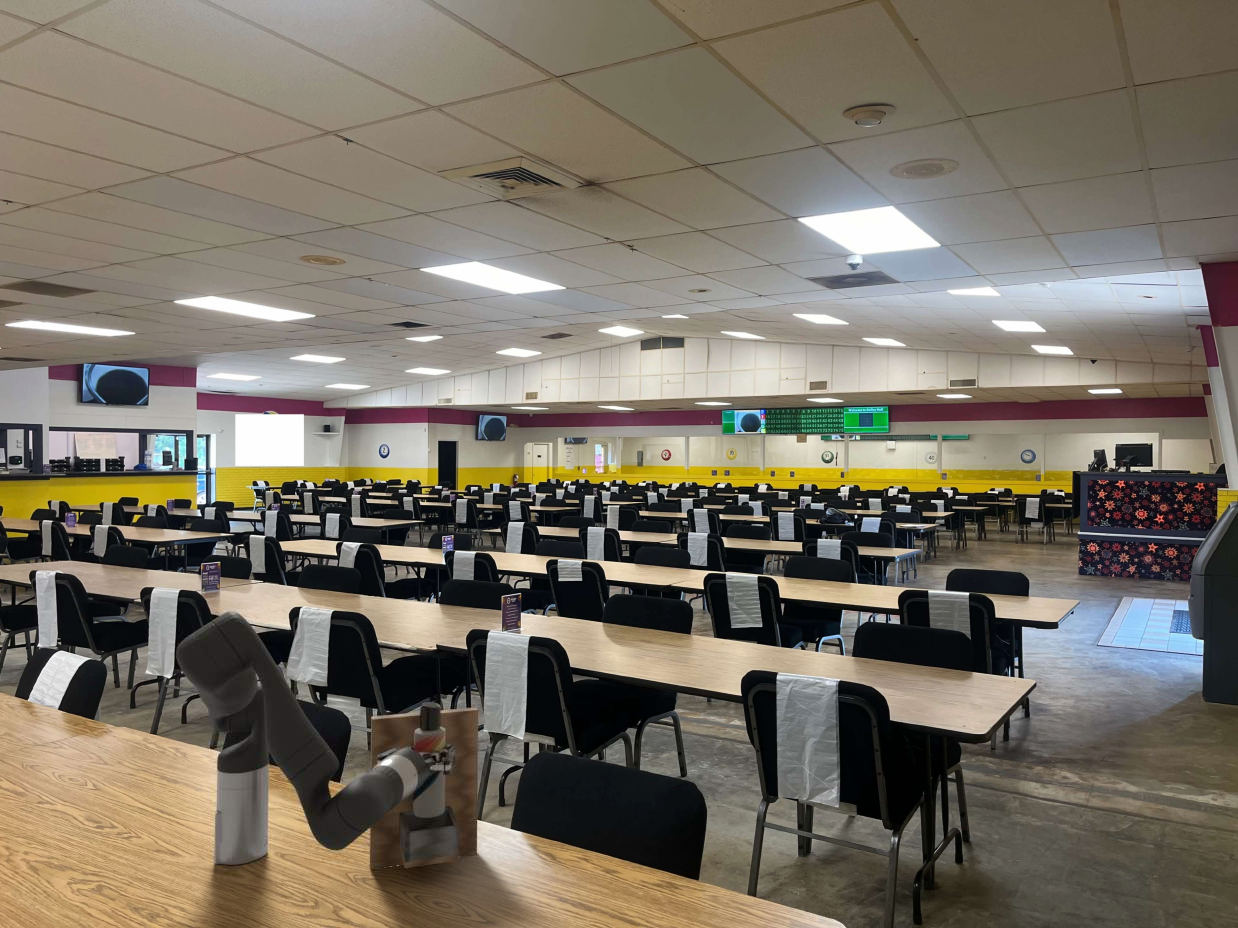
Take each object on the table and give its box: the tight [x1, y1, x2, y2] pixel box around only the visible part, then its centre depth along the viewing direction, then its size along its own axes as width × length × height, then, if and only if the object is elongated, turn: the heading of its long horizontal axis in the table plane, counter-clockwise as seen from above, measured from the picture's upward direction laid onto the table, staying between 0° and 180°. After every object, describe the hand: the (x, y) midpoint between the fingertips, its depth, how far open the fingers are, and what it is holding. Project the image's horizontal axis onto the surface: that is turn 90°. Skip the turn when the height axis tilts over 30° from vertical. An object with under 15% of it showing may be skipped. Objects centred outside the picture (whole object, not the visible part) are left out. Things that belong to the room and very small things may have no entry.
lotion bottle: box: [413, 702, 446, 818], centre depth 155 cm, size 6×6×20 cm
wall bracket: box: [369, 706, 479, 871], centre depth 157 cm, size 20×12×28 cm, turn 110°
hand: (434, 748), depth 158 cm, fingers closed on lotion bottle, 5 cm apart
